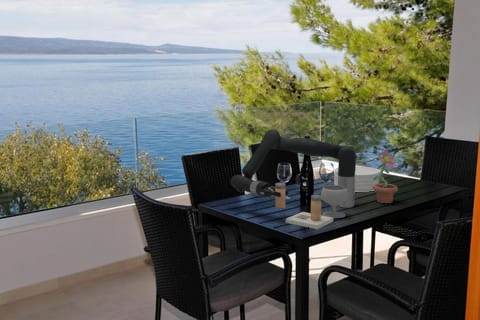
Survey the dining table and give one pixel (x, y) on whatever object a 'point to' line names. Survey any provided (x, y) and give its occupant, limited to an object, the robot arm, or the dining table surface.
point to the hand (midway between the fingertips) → (284, 193)
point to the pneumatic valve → (299, 179)
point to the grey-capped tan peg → (281, 200)
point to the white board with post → (311, 216)
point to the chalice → (334, 199)
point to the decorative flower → (384, 189)
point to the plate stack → (362, 178)
